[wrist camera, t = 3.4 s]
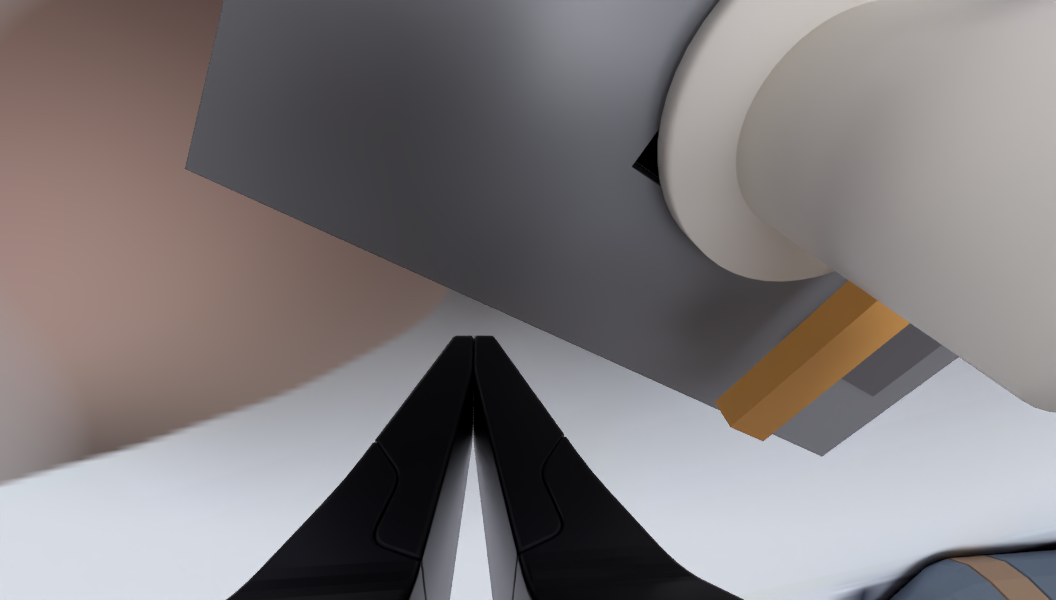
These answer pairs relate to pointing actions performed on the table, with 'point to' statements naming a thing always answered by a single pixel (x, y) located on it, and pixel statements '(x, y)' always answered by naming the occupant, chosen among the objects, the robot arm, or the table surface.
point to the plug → (882, 162)
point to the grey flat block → (516, 178)
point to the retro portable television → (986, 578)
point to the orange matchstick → (809, 361)
